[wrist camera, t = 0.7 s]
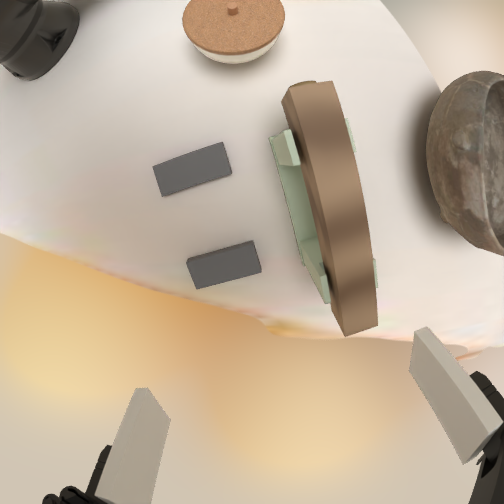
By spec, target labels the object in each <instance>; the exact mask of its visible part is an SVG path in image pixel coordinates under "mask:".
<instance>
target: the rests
mask: <svg viewBox="0 0 504 504" xmlns="http://www.w3.org/2000/svg"><path fill="white" fill-rule="evenodd" d="M153 170H154V173H155V176H156V179H157V183H158V186H159V189H160V192H161V195H162V197H163V196H166V195H169V194H171V193H174V192H177V191H180V190H183V189H186V188H189V187H191V186H194V185H197V184H200V183H203V182H207V181H210V180H213V179H216V178H219V177H222V176H225V175H229V174H232V170H231V167H230V164H229V161H228V157H227V154H226V151H225V148H224V144H223V142H220V143H217V144H214V145H211V146H208V147H205V148H202V149H199V150H196V151H193V152H190V153H187V154H185V155H182V156H179V157H176V158H174V159H171V160H168V161H166V162H163V163H161V164H158V165H156V166H153ZM186 264H187V267H188V269H189V272H190V274H191V277H192V279H193V282H194V284H195V287H196V289H200V288H204V287H208V286H212V285H216V284H220V283H223V282H227V281H231V280H235V279H239V278H242V277H246V276H250V275H253V274H257V273H261V266H260V263H259V259H258V256H257V253H256V249H255V246H254V243H253V240H252V241H249V242H245V243H242V244H238V245H234V246H231V247H227V248H224V249H220V250H217V251H213V252H210V253H206V254H203V255H199V256H196V257H192V258H189V259H188V260H187V262H186Z"/></svg>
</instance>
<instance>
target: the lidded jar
mask: <svg viewBox="0 0 504 504" xmlns="http://www.w3.org/2000/svg"><path fill="white" fill-rule="evenodd" d="M284 20H285V12H284V7H283V5H282V3H281V1H280V0H191V1H190V2H189V3H188V5H187V6H186V8H185V11H184V13H183V18H182V21H183V28H184V31H185V33H186V34H187V36H188V38H189V39H190V40H191V41H192V43H193V44H194V45H195V47H196V48H197V49H198V50H199V51H200V52H201V53H203V54H204V55H205V56H207V57H209V58H210V59H213V60H215V61H218V62H222V63H229V64H237V63H244V62H249V61H251V60H254V59H256V58H258V57H260V56H262V55H263V54H265V53H266V52H267V51H268V50H269V49H270V48H271V47H272V46H273V44H274V43H275V42H276V40H277V38H278V36H279V34H280V31H281V29H282V27H283V24H284Z"/></svg>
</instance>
